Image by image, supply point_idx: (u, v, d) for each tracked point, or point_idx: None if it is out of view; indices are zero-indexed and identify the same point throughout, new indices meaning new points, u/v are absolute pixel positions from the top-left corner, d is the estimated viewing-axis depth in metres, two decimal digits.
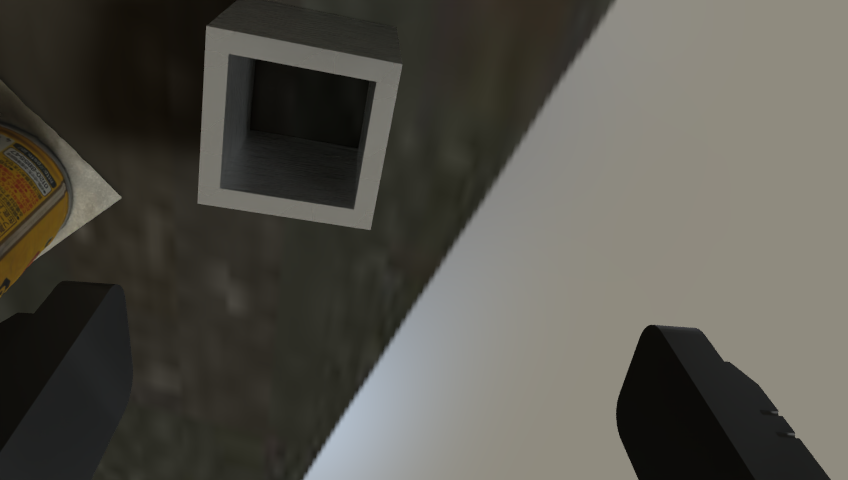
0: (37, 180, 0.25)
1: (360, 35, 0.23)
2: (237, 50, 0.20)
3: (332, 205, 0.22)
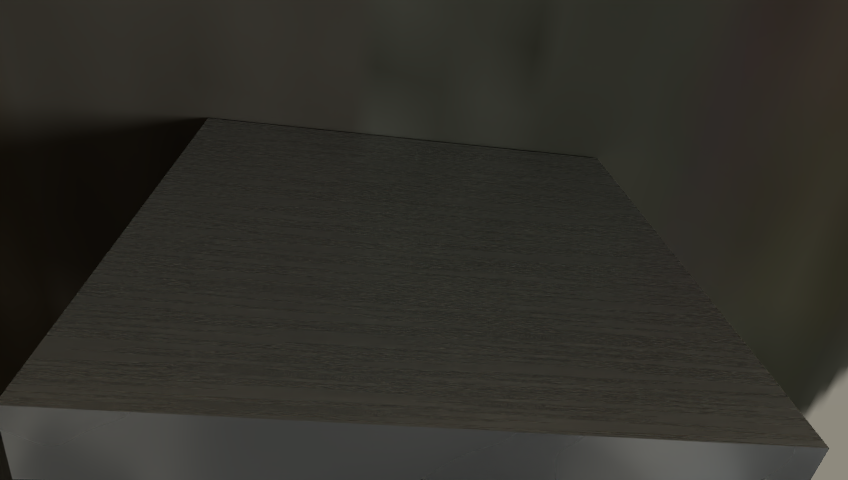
0: None
1: (558, 241, 0.07)
2: (150, 471, 0.05)
3: None
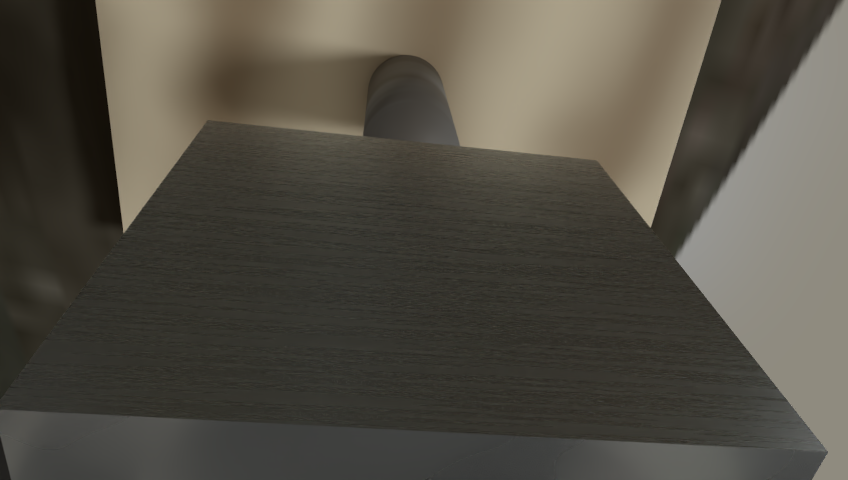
0: None
1: (557, 243, 0.07)
2: (149, 475, 0.05)
3: None
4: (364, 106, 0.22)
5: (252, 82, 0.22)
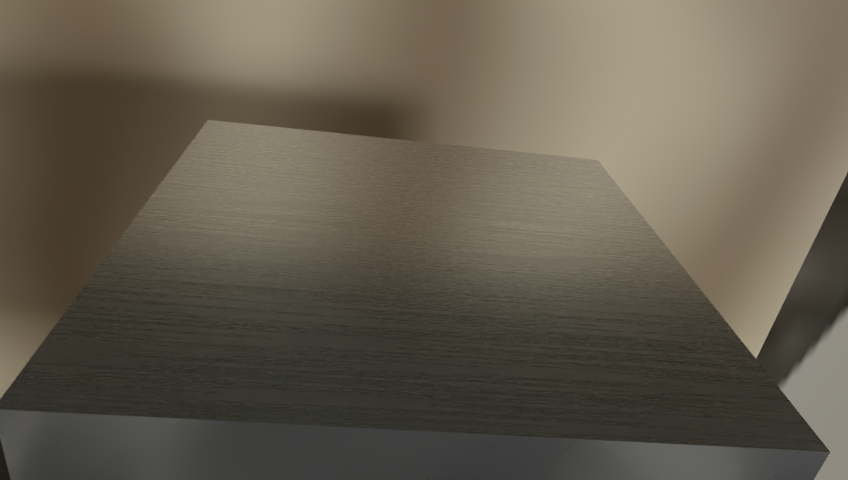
0: None
1: (558, 243, 0.07)
2: (149, 475, 0.05)
3: None
4: None
5: (112, 214, 0.13)
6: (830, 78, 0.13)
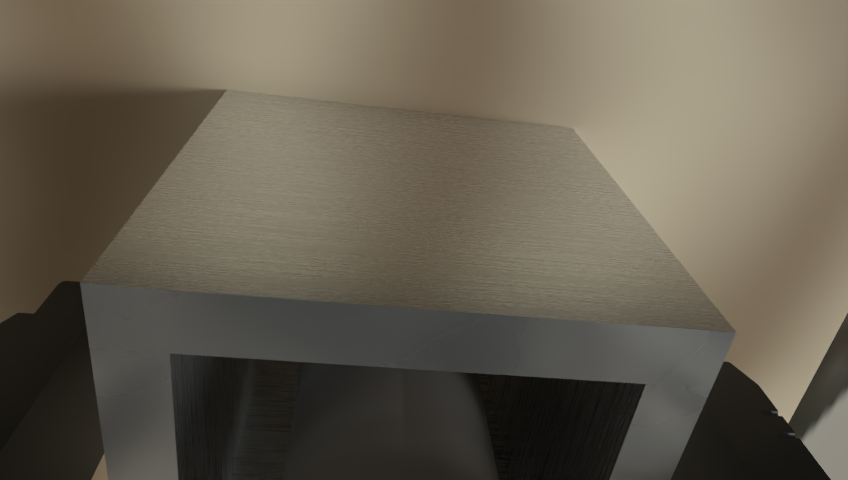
0: None
1: (531, 188, 0.09)
2: (197, 343, 0.06)
3: None
4: None
5: (108, 244, 0.12)
6: None
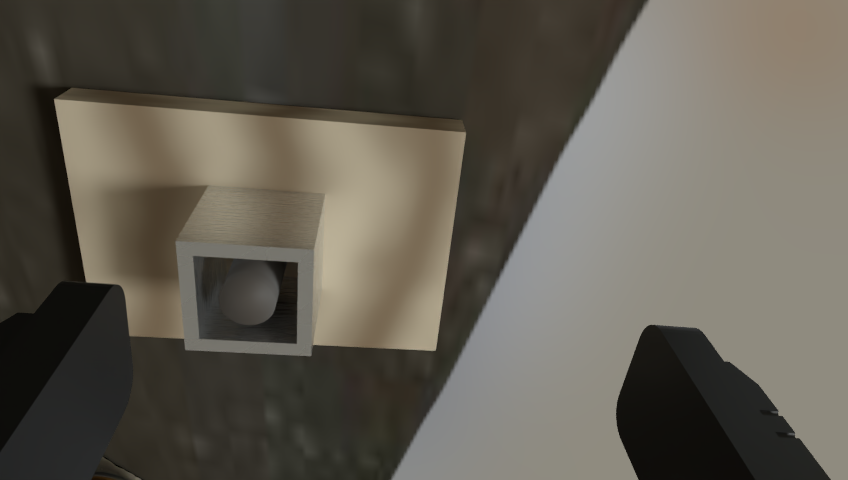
0: None
1: (291, 217, 0.31)
2: (198, 253, 0.28)
3: (281, 342, 0.31)
4: None
5: (170, 236, 0.35)
6: (435, 178, 0.34)
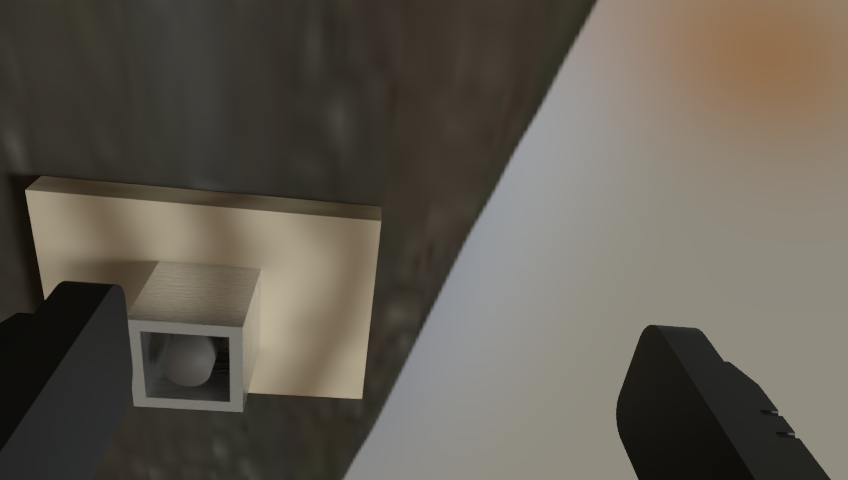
0: None
1: (227, 293, 0.36)
2: (144, 329, 0.34)
3: (216, 400, 0.36)
4: None
5: (126, 301, 0.40)
6: (355, 257, 0.39)
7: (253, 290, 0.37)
